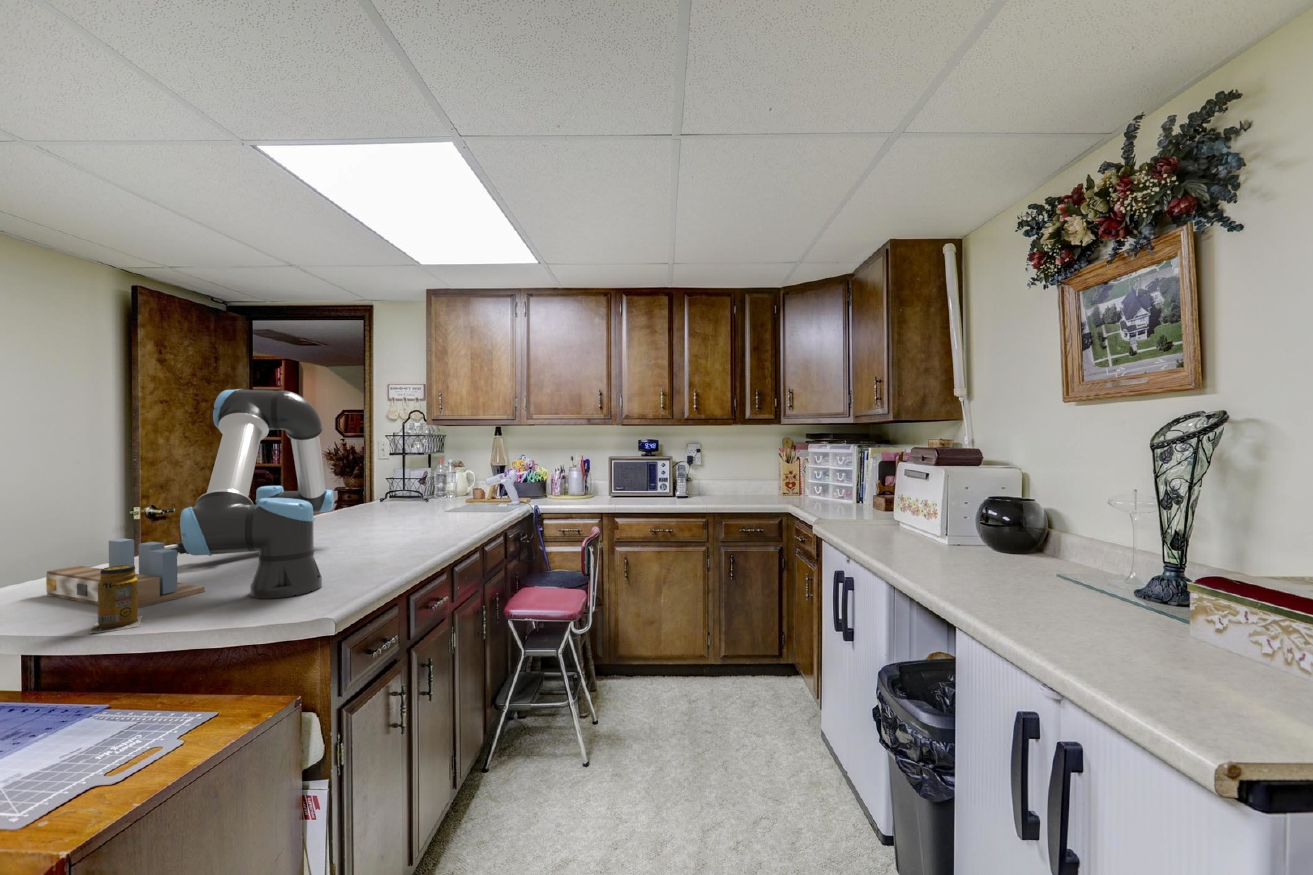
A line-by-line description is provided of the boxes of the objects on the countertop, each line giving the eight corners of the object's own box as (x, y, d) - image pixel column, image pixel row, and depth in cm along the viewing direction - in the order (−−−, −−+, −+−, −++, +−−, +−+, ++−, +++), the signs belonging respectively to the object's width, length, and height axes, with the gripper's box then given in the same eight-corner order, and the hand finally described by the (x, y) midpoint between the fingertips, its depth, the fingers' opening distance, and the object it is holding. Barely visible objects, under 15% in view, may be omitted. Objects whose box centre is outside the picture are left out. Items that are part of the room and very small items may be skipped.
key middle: (165, 581, 143) (164, 542, 143) (151, 584, 140) (150, 545, 140) (153, 579, 145) (152, 541, 145) (139, 582, 142) (138, 543, 142)
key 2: (177, 590, 134) (177, 550, 134) (162, 594, 132) (162, 552, 132) (164, 588, 136) (164, 548, 136) (149, 592, 133) (149, 551, 133)
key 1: (134, 576, 148) (134, 539, 147) (120, 579, 145) (119, 541, 145) (123, 575, 149) (122, 538, 149) (109, 577, 146) (108, 540, 146)
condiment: (142, 616, 121) (141, 561, 121) (138, 626, 114) (138, 569, 114) (95, 623, 116) (94, 566, 116) (88, 635, 110) (88, 575, 109)
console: (204, 591, 139) (204, 567, 139) (123, 611, 124) (123, 584, 124) (125, 579, 151) (125, 557, 150) (42, 596, 135) (42, 571, 135)
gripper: (253, 551, 173) (163, 569, 151) (225, 548, 177) (135, 565, 155) (253, 527, 173) (163, 542, 151) (225, 525, 177) (134, 538, 155)
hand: (149, 553), depth 153 cm, fingers closed
